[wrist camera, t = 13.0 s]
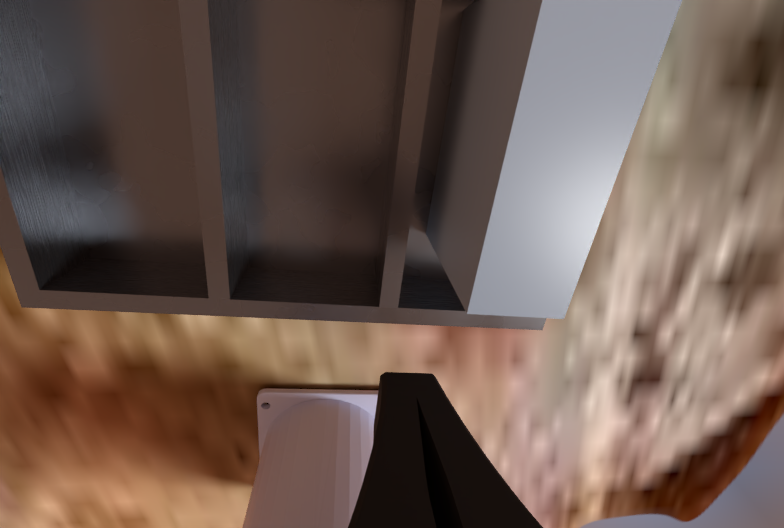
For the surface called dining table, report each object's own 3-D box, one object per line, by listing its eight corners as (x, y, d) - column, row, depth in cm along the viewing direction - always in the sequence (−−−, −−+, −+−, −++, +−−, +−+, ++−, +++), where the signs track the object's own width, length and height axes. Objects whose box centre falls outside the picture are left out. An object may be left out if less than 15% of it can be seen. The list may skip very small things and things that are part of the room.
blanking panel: (489, 239, 18) (563, 318, 12) (425, 233, 18) (467, 313, 11) (543, 23, 14) (693, -32, 8) (464, 9, 14) (556, -60, 8)
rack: (510, 289, 20) (542, 329, 17) (86, 264, 17) (21, 307, 14) (597, -18, 15) (672, -52, 11) (-12, -131, 12) (-164, -223, 8)
